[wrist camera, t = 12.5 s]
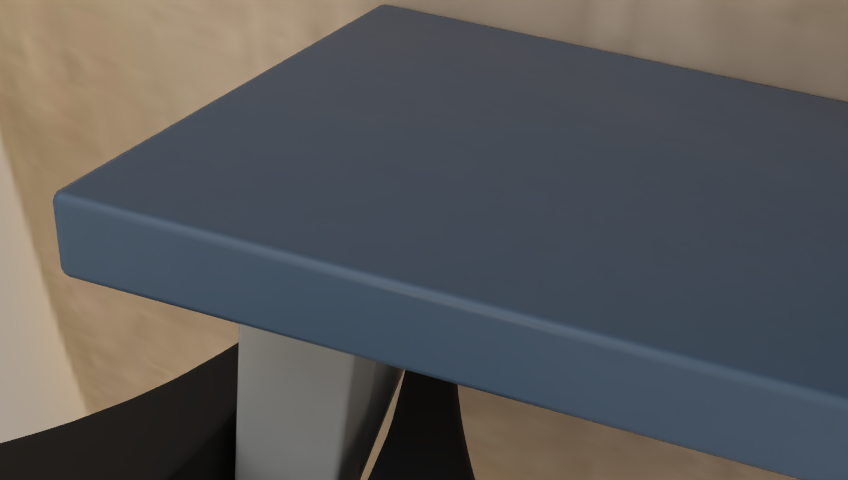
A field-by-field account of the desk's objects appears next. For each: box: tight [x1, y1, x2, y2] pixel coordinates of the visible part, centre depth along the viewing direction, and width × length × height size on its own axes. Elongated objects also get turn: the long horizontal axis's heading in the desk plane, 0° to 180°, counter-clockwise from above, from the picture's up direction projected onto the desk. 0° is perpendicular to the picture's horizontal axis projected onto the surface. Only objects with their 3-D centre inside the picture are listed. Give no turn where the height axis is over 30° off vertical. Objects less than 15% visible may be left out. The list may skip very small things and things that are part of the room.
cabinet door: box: [53, 5, 848, 480], centre depth 10 cm, size 6×14×9 cm, turn 81°
